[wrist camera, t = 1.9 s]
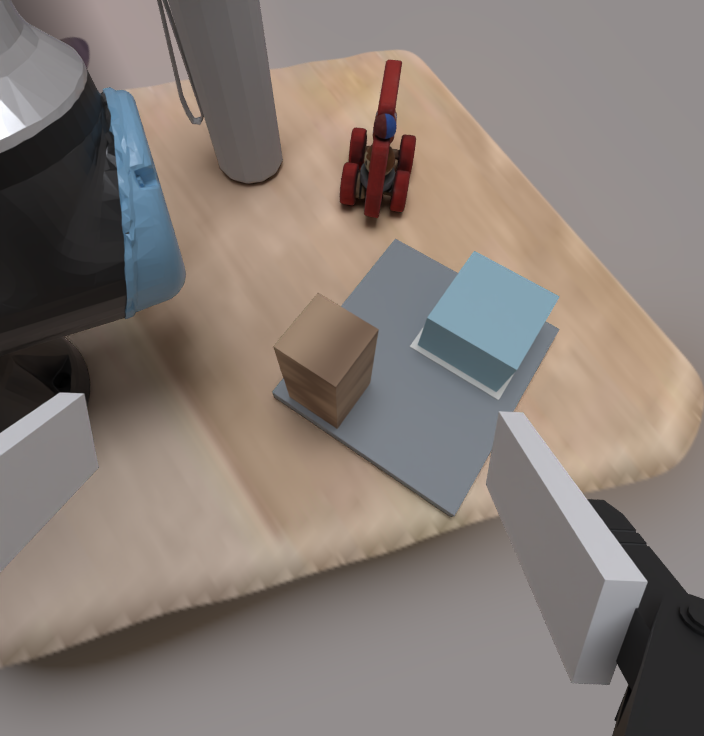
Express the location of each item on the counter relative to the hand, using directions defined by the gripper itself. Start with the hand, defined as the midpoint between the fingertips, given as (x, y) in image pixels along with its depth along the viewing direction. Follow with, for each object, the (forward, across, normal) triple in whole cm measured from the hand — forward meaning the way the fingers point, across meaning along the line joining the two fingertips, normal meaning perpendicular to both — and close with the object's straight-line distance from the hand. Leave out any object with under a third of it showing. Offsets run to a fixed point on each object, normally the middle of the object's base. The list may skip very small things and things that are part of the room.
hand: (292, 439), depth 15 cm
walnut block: (+23, 0, -9) cm, 24 cm away
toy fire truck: (+41, +4, +8) cm, 42 cm away
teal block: (+27, +13, -4) cm, 30 cm away
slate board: (+26, +8, -7) cm, 28 cm away
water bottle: (+43, -11, +10) cm, 46 cm away
